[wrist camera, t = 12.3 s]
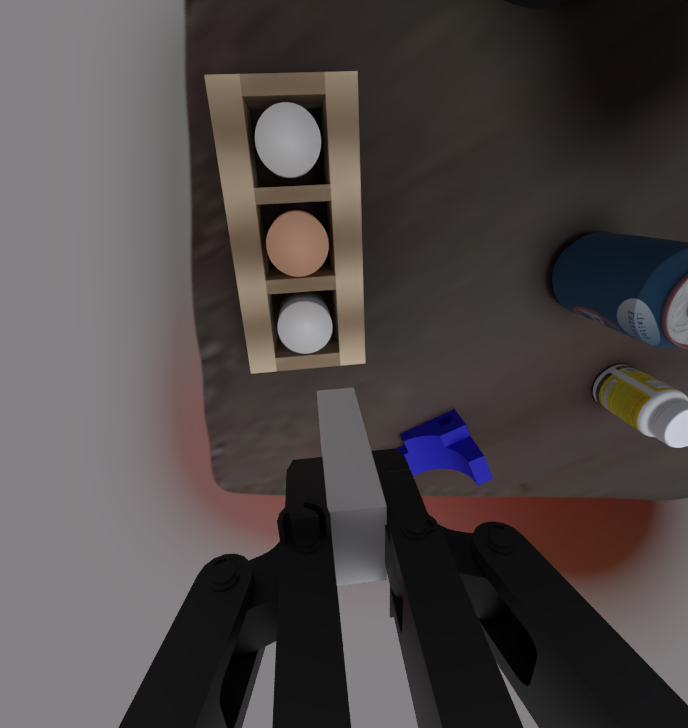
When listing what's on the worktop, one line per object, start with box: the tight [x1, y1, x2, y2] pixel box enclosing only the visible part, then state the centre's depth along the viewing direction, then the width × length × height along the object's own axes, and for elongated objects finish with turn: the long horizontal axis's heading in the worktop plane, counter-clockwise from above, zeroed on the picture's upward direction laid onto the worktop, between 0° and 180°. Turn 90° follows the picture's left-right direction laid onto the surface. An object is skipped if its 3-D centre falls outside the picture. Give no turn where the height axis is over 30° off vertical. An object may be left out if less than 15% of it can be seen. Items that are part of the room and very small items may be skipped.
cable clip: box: [397, 409, 493, 485], centre depth 38 cm, size 12×4×6 cm, turn 115°
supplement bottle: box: [593, 364, 688, 448], centre depth 37 cm, size 5×5×8 cm
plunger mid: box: [266, 209, 329, 277], centre depth 28 cm, size 4×4×5 cm
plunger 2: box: [278, 291, 332, 354], centre depth 31 cm, size 4×4×5 cm
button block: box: [204, 71, 365, 374], centre depth 29 cm, size 19×9×4 cm, turn 3°
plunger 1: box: [255, 102, 321, 179], centre depth 26 cm, size 4×4×5 cm
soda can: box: [552, 232, 688, 349], centre depth 30 cm, size 7×7×12 cm
